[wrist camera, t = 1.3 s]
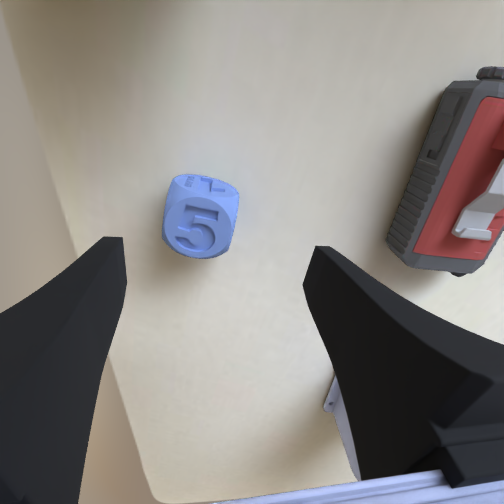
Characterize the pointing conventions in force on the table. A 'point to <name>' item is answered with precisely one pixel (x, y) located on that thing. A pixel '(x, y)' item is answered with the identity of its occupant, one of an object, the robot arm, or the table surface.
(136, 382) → the table surface
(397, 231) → the walkie-talkie
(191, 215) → the decorative dice
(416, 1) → the table surface
